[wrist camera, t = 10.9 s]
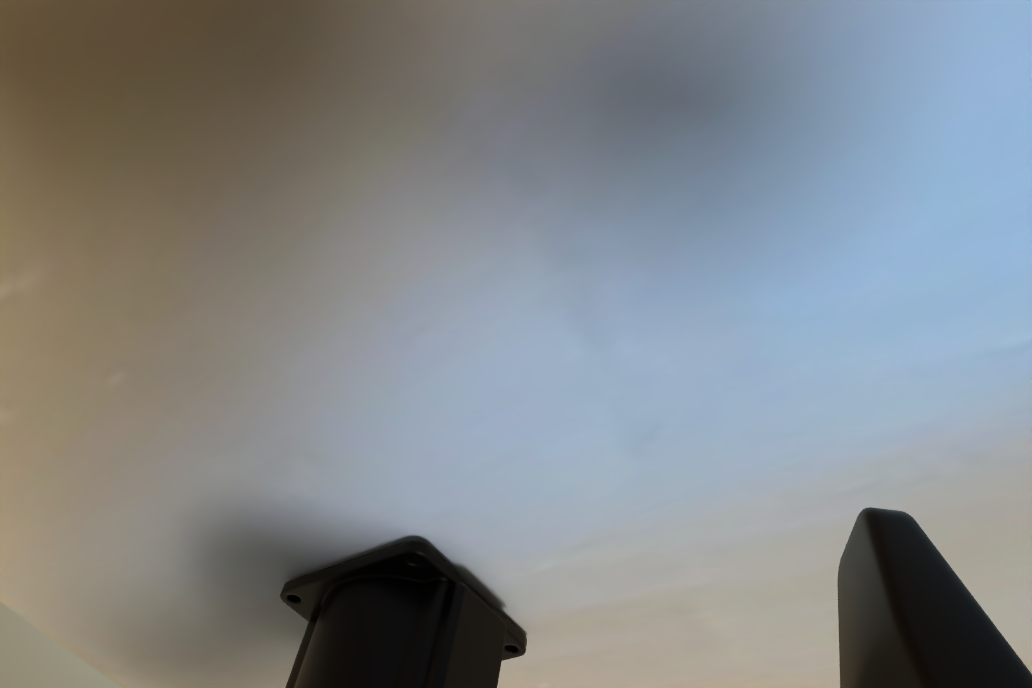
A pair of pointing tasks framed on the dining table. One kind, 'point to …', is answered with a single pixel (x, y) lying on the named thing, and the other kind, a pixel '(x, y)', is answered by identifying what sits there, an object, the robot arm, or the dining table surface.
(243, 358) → the dining table surface
